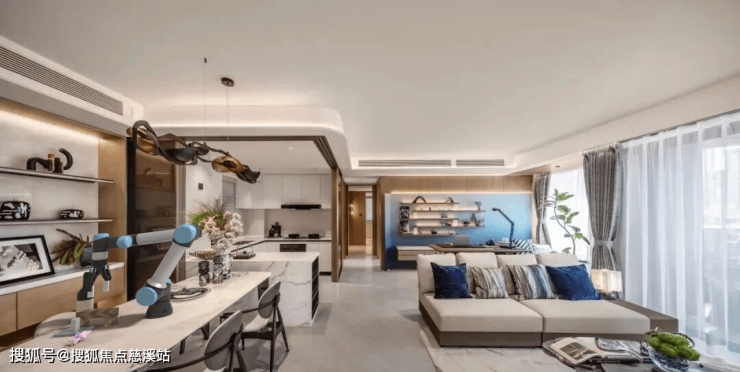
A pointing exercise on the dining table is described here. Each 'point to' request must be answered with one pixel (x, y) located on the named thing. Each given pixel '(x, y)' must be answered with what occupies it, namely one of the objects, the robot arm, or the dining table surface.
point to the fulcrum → (74, 329)
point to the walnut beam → (97, 313)
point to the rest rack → (108, 321)
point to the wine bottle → (84, 296)
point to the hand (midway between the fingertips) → (98, 294)
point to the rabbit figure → (78, 338)
